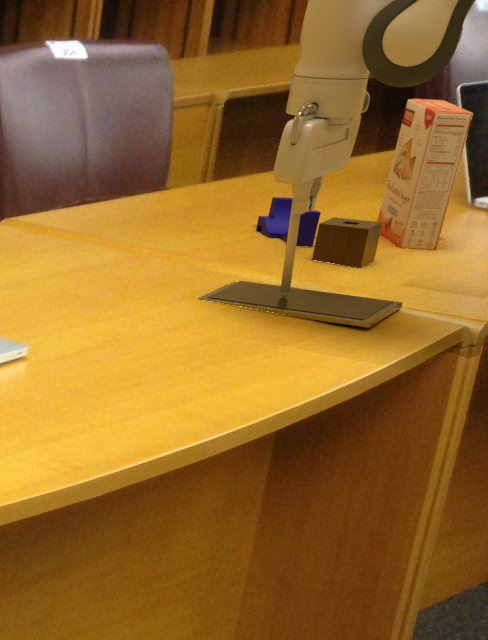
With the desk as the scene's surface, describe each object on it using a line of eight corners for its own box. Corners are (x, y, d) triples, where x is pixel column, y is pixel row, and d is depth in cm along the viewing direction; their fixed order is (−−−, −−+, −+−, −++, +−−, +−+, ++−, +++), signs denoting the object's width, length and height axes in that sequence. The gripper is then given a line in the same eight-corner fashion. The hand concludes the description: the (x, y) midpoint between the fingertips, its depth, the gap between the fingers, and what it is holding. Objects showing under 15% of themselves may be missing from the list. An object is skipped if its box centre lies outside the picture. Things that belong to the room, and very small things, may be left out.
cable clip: (254, 234, 249) (263, 196, 247) (282, 235, 249) (291, 197, 247) (282, 250, 239) (291, 211, 236) (311, 251, 239) (320, 212, 236)
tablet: (401, 307, 204) (403, 301, 204) (368, 327, 194) (370, 321, 194) (235, 284, 217) (236, 279, 217) (196, 303, 207) (197, 297, 206)
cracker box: (371, 231, 252) (406, 97, 242) (410, 234, 251) (447, 99, 241) (395, 250, 239) (433, 109, 230) (436, 252, 239) (476, 111, 229)
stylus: (290, 296, 206) (305, 186, 200) (287, 297, 205) (302, 187, 200) (281, 295, 207) (296, 186, 201) (278, 296, 206) (293, 187, 200)
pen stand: (373, 263, 231) (382, 222, 228) (359, 270, 226) (369, 228, 223) (325, 257, 235) (333, 217, 232) (310, 264, 230) (319, 223, 227)
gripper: (325, 109, 186) (301, 225, 192) (374, 96, 200) (350, 204, 206) (272, 105, 190) (250, 219, 196) (324, 92, 204) (302, 199, 210)
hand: (302, 212), depth 201 cm, fingers closed on stylus, 1 cm apart
